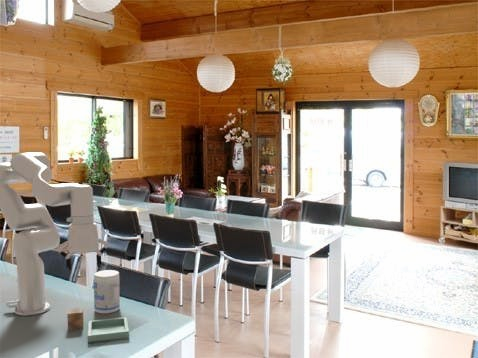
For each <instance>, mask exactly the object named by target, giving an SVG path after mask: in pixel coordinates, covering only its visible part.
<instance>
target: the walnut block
mask: <svg viewBox="0 0 478 358" xmlns="http://www.w3.org/2000/svg"><path fill="white" fill-rule="evenodd" d="M66 318H67V331H74V330H75V331H76V330H77V331H78V330H83V329H84V307H76V308H68V309H67V317H66Z"/></svg>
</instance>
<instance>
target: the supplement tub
mask: <svg viewBox="0 0 478 358" xmlns="http://www.w3.org/2000/svg"><path fill="white" fill-rule="evenodd" d="M120 299H121V298H120V272H119V271H118V270H114V269H105V270H99V271H97V272H94V274H93V302H94V303H93V307H94V309H93V310H94V311H95V312H96V313H98V314H113V313H115V312H118V311H119V309H120V305H121V304H120V301H121V300H120Z"/></svg>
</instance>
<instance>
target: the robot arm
mask: <svg viewBox="0 0 478 358" xmlns="http://www.w3.org/2000/svg"><path fill="white" fill-rule="evenodd" d="M52 177H53V172H52V170H51V160H50V158H49V157H48V156H47V154H45V153H43V152H20V153H16V154H15V155H13V156H12V157H11V158H10V161H9V162H0V212H1V214H2V216H3V218H4V220H5V222H6V224H7V225H8V227H9V228H10V230H13V231H20V232H18V233H16V234H15V235H14V237H13V240H12V245H13V249H14V253H15V254H14V255H15V258H16V259H15V260H16V272H17V290H18V291H17V292H18V299H16V300H9V301H6V304H5V305H6V307H8V308H9V309H10V308H14V314H16V315H18V316H22V317H23V316H34V315H39V314H43V313H45V312H47V311H48V310H50V308H51V305H50V303H49V302H47V301H46V288H45V287H46V285H45V283H46V282H45V263H44V261H43V259H42V258H41V257H40V255H39V254H40V253H44V252H48V251H51V250H54V249H56V248H57V250H58V252H59V254H60V255H61V256H62V257H63V258H65V264H66V265H65V266H66V268H68V271H71V270H72V258H71V256H72V255H76V254H77V255H78V254H89V253H96V266H97V268H100V267H101V266H100V265H102V256H103V254H104V253H105V252H106V251H107V248H108V247H109V242H108V241H106V240H104V239H102V238H99V232H98V231H99V230H98V227H97V223H96V222H94V221H95V220H94V219H95V217H94V189H93V187H92V186H91V185H89V184H79V183H77V182H76V183H75V182H67V183H57V184H50V181H51V180H52ZM25 183H29V184H31V186H30V187H31V192H32V194H33V196H34V197H35V198H36V199H37V200H38V201H40V202H41V203H43V204H44V205H46V206H49V207H59V206H66V205H67V206H68V205H70V217H66V222H67V223H70V224H69V227H68V232H67V241H64V242H63V243H61V244H60V242H61V236H60V233H59V230H58V228H57V227H56V224H55V222H54V221H53V218H52V216H51V214H50V212H49V210H48V209H47V207H45V206H44V205H42V204H40V203H29V204H27V203H25V202H24V201H23V199H22V197H21V194H20V193H18V191H17V190H15V189H14V188H13V187H11V186H9V185H11V184H25ZM100 244H102V246H103V247H101V248H100V249H99V247H100ZM65 247H67V249H68V251H67V252H66V251H64V248H65Z"/></svg>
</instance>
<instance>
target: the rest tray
mask: <svg viewBox="0 0 478 358" xmlns="http://www.w3.org/2000/svg"><path fill="white" fill-rule="evenodd" d="M87 326H88V329H87V344H95V343H103V342H113V341H120V339H122V340H127V339H126V338H129V339H130V332H129V331H130V330H129V323H128V318H127V317H126V316H124V317H115V318H114V317H113V318H104V319H95V320H88V325H87Z"/></svg>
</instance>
